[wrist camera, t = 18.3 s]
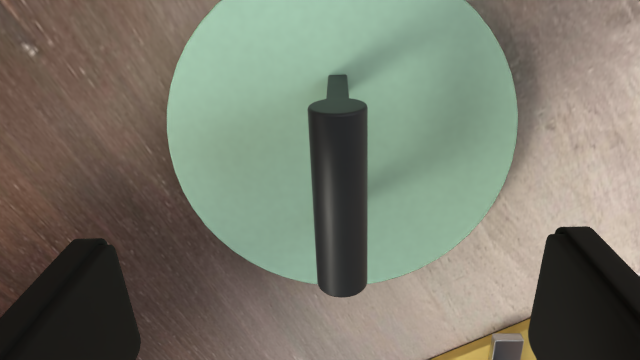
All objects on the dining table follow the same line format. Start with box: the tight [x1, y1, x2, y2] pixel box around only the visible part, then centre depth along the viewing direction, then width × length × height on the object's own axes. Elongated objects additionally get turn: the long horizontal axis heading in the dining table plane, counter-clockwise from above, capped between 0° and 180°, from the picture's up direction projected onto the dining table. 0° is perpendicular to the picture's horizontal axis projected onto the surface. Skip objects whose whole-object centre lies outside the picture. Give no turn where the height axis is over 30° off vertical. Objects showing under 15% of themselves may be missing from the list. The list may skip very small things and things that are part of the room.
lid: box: [167, 0, 518, 297], centre depth 16 cm, size 14×14×6 cm
